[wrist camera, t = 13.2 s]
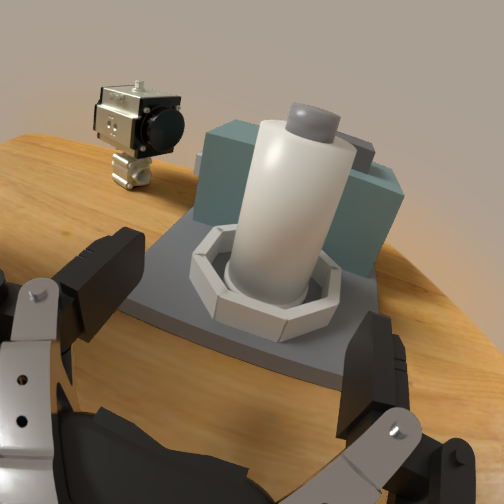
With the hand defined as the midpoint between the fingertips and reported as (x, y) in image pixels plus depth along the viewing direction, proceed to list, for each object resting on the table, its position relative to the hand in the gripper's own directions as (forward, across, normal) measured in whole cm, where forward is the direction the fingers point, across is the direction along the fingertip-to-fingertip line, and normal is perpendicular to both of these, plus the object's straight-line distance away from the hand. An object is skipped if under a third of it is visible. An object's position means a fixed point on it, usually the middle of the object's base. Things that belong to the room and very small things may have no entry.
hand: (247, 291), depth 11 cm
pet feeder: (+14, 0, +9) cm, 16 cm away
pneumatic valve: (+21, +19, +9) cm, 30 cm away
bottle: (+10, 0, +8) cm, 13 cm away
